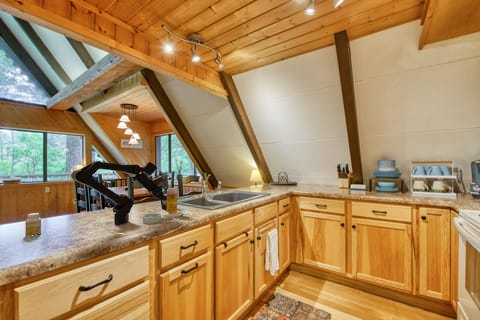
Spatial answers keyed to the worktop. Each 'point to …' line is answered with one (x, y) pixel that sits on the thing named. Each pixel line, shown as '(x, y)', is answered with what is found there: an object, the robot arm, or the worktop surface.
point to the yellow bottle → (172, 200)
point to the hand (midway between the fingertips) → (164, 198)
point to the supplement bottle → (33, 224)
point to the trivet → (166, 214)
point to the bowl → (151, 218)
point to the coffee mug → (164, 203)
